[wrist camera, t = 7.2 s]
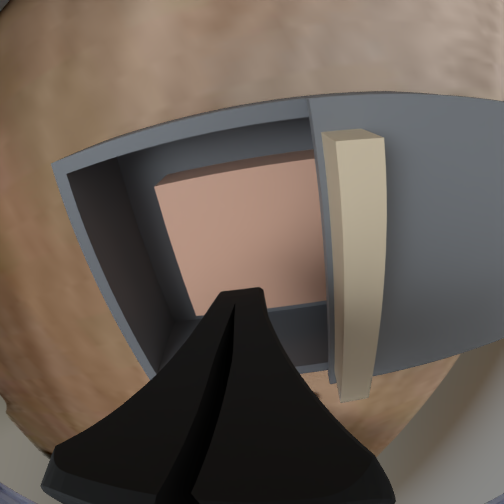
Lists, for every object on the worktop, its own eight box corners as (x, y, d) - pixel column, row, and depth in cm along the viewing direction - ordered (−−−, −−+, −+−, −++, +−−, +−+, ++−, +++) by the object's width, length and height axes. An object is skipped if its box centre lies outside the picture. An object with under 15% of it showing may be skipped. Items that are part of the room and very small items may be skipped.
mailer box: (387, 295, 18) (414, 352, 13) (171, 322, 19) (151, 381, 15) (385, 91, 12) (437, 94, 8) (107, 139, 14) (50, 163, 9)
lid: (535, 316, 12) (554, 341, 10) (328, 374, 14) (335, 415, 12) (575, 117, 6) (608, 129, 4) (306, 98, 8) (321, 99, 6)
